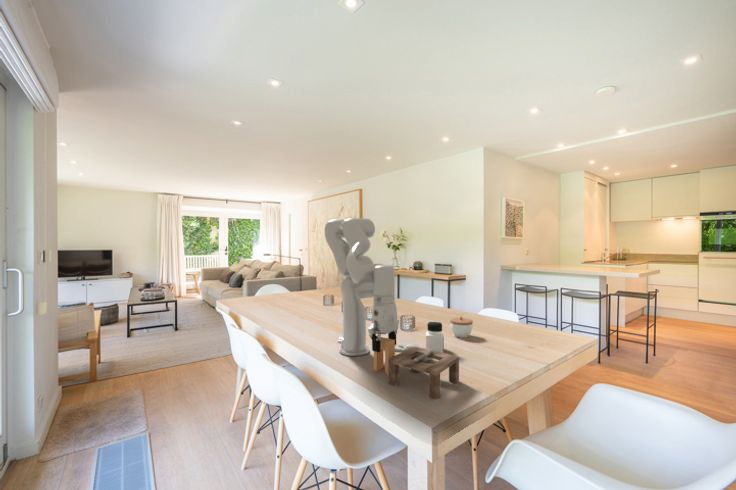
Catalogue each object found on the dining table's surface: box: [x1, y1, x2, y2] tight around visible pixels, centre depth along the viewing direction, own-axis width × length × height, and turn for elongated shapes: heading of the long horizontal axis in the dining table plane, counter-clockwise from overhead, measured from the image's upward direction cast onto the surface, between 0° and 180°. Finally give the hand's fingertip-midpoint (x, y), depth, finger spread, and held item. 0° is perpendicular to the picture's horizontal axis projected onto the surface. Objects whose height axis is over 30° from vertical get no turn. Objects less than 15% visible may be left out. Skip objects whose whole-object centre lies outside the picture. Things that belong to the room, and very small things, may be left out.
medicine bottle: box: [425, 320, 445, 353], centre depth 137 cm, size 7×7×12 cm
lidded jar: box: [449, 316, 474, 338], centre depth 159 cm, size 11×11×9 cm
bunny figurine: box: [395, 343, 433, 363], centre depth 128 cm, size 10×5×15 cm
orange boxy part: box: [373, 336, 396, 375], centre depth 115 cm, size 6×4×11 cm, turn 51°
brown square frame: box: [388, 347, 460, 400], centre depth 105 cm, size 17×16×9 cm
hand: (384, 347), depth 115 cm, fingers open, 9 cm apart
